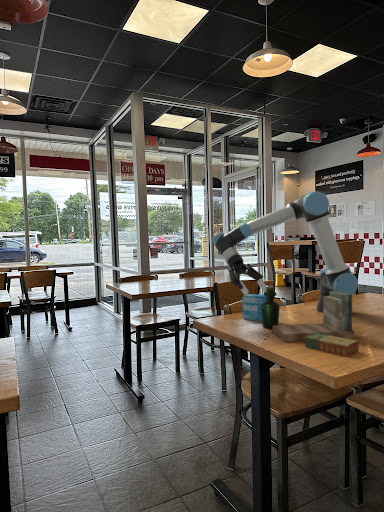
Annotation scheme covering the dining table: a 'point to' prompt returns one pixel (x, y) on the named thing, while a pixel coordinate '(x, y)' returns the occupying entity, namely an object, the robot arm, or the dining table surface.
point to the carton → (332, 344)
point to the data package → (252, 306)
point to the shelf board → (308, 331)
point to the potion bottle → (270, 309)
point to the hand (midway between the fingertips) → (257, 292)
